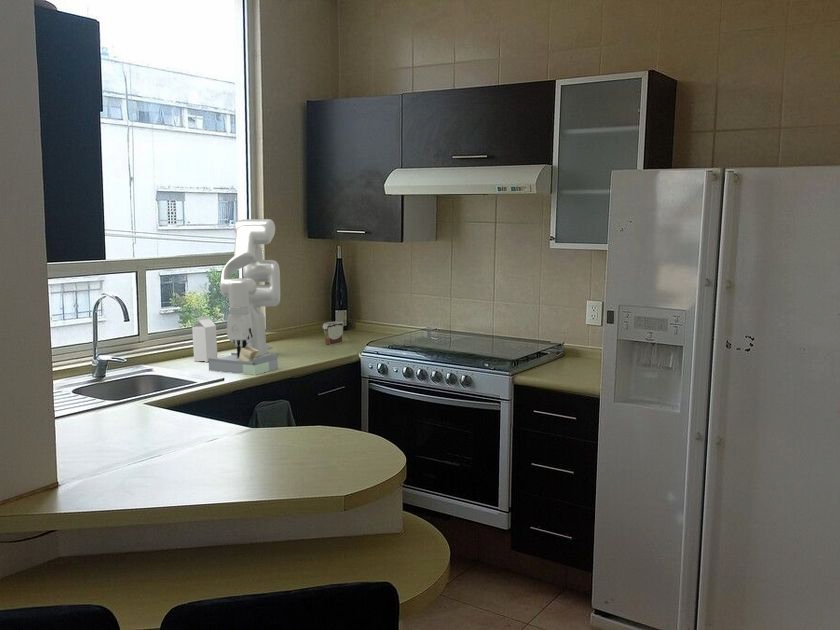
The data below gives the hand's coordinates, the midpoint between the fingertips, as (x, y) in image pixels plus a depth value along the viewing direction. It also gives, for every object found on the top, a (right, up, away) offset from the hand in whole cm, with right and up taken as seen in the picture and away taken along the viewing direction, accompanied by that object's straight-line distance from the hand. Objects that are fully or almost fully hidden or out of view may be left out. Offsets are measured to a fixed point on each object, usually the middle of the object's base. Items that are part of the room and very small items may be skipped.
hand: (241, 356), depth 322 cm
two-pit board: (0, -5, +5) cm, 7 cm away
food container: (+29, +3, +65) cm, 71 cm away
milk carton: (-21, -3, +27) cm, 34 cm away
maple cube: (+3, -2, -2) cm, 4 cm away
